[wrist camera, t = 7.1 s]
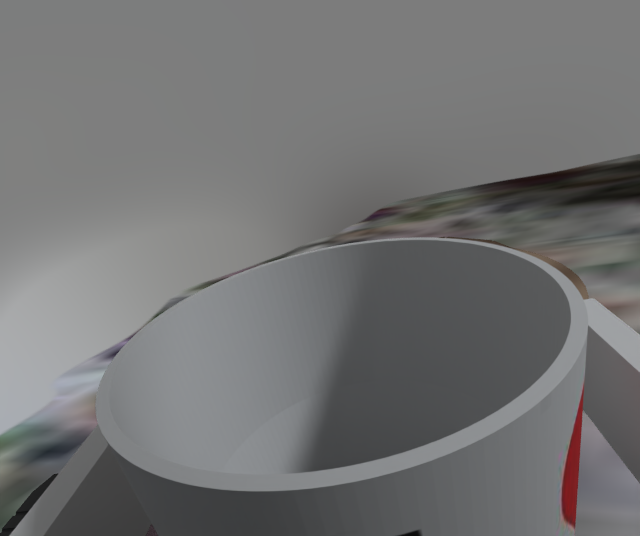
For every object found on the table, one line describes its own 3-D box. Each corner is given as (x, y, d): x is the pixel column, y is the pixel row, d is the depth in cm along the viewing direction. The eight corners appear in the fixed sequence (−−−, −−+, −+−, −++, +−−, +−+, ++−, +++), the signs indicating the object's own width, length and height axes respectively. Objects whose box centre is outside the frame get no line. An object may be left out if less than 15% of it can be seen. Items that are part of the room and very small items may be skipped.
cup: (415, 1148, 6) (206, 706, 3) (202, 646, 13) (65, 340, 9) (659, 671, 10) (687, 265, 7) (402, 479, 17) (354, 225, 13)
